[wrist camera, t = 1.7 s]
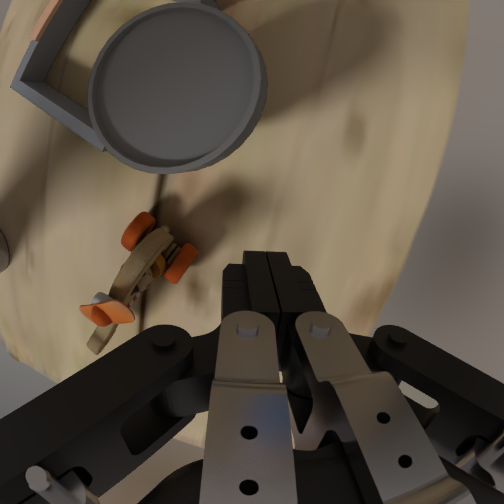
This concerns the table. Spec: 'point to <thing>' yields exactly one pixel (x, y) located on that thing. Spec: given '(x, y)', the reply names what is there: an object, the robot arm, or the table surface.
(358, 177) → the table surface
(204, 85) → the reusable coffee cup
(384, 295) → the table surface
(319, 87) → the table surface
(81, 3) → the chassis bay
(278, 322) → the robot arm
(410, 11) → the table surface
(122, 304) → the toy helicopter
